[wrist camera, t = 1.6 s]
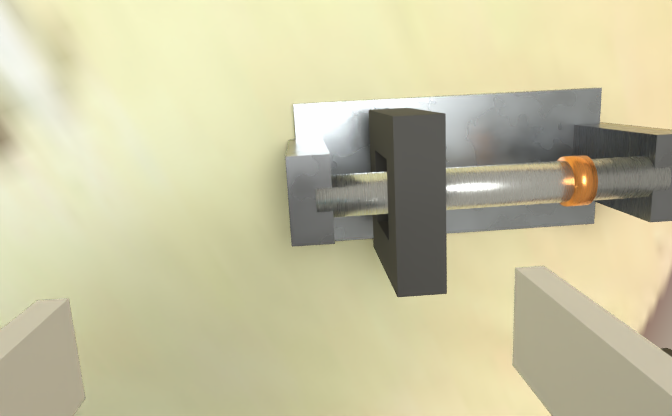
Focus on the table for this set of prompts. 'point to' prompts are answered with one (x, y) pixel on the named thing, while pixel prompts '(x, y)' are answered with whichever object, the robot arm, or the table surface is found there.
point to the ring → (411, 198)
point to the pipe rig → (481, 164)
